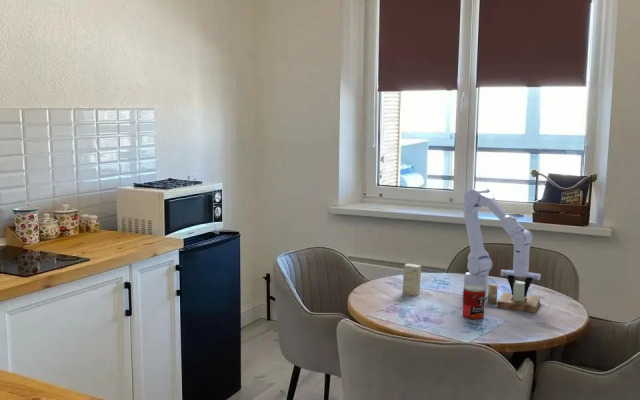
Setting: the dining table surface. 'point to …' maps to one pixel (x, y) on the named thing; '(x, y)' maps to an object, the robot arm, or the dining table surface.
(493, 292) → the birch dowel
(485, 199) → the robot arm
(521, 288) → the square peg
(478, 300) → the canned food
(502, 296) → the socket block
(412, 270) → the skincare box
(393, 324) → the dining table surface
